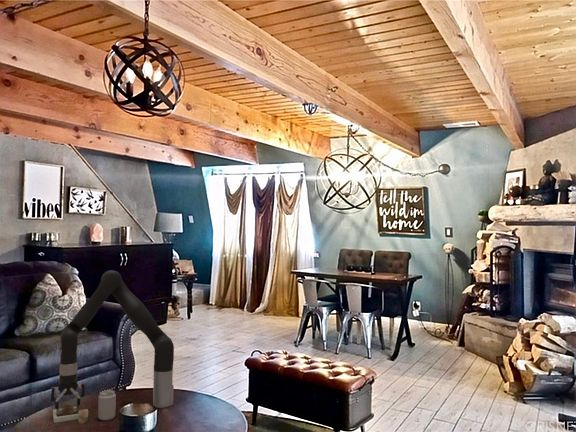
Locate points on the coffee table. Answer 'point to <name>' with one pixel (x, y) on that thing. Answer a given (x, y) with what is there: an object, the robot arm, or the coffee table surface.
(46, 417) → the coffee table surface
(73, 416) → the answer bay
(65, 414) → the walnut block
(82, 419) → the cork cylinder
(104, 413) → the pale grey jar
